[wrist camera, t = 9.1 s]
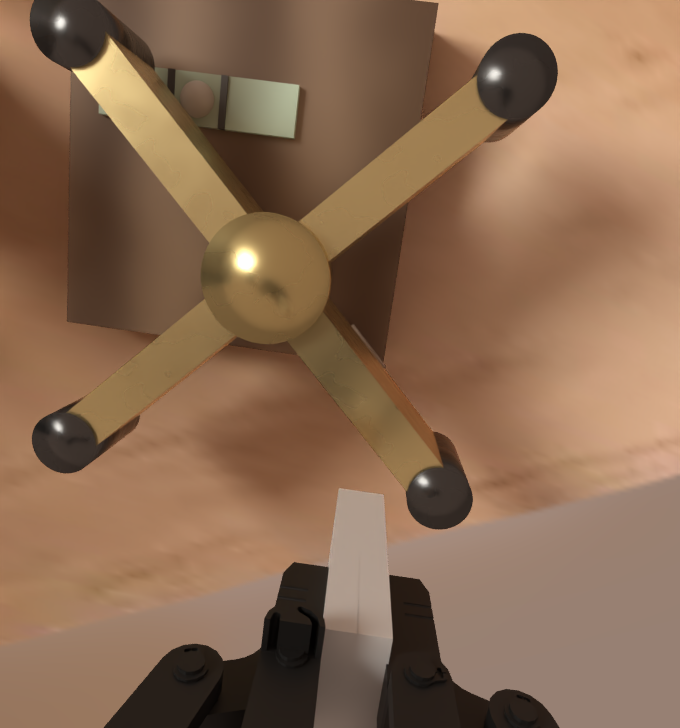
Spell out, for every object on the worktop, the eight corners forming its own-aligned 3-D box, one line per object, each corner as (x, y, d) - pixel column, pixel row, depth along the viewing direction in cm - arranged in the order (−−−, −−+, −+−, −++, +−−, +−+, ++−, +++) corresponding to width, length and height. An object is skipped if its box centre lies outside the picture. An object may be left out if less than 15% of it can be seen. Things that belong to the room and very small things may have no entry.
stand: (97, 320, 30) (56, 331, 26) (106, -8, 26) (60, -51, 22) (383, 361, 29) (384, 378, 25) (434, 31, 26) (444, -7, 22)
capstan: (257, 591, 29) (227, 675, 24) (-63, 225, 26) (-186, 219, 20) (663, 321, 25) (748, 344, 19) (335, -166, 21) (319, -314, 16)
